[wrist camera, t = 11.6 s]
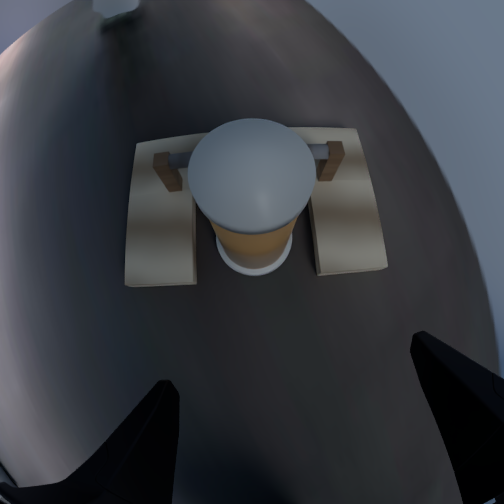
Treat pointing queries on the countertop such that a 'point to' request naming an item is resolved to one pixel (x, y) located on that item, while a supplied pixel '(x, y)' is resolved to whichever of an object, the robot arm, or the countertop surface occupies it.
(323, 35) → the countertop surface
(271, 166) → the lidded paper cup
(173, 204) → the grey piece
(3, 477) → the tube
